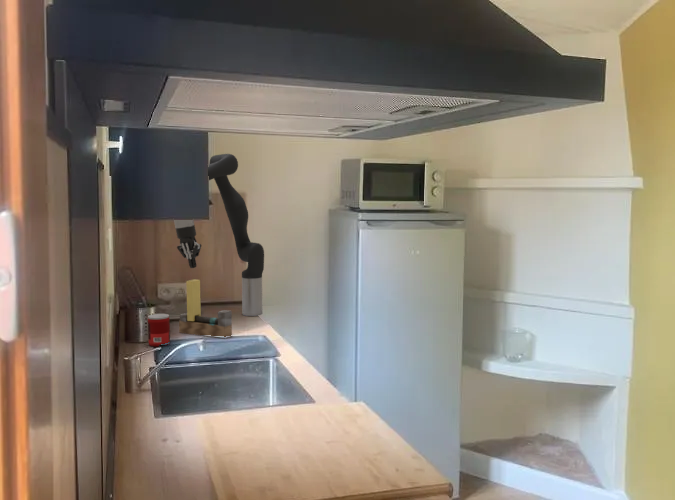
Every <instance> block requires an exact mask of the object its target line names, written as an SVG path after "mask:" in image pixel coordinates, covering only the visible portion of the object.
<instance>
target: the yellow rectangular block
mask: <svg viewBox="0 0 675 500" xmlns="http://www.w3.org/2000/svg"><path fill="white" fill-rule="evenodd" d="M201 309H202V307H201V279H195V278H194V279H190V280H186V313H187V321H195V316H202V314H201V313H202V310H201Z"/></svg>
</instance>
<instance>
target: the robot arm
mask: <svg viewBox="0 0 675 500" xmlns="http://www.w3.org/2000/svg"><path fill="white" fill-rule="evenodd" d="M209 159H210V160H209V163H208V164H209V167H208V176H209V181H211V180H213V179H214V182H215V185H216V186H217V188H218V191H219V194H220V196H221V199H222V202H223V207H224V209H225V213H226V215H227V219H228V221H229V224H230V228H231V231H232V234H233V237H234V242H235V248H236V251H237V252H236V253H237V255H238V258H239V260H241V261H243V262H245V263H247V268H246V269H244V270H242V271H241V300H242V301H241V306H242V307H241V309H242V312H241V315H243V316H247V317H257V316H261V315H263V273H264V268H265V267H264V266H265V250H264V247H263V245H262V244H261V243H258V242H252V241H251V240H250V237H249V234H248V222H249V211H248V207H247V204H246V201H245V199H244V198H243V196H242V195H241V194H240V193H239V192H238V191H237V190H236V188H234V187H233V186H232V184H231V182H230V180H229V177H228V176H231V175H234V174H235V173H236V172H237V170H238V167H239V161H238V159H237V157H236V156H235V155H234V154H231V153H221V154H215V155H212V156H211V157H210V158H209ZM173 223H174V227H175V233H176V236H177V237H176V238H177V239H178V240H179V245H177V246H176V249H177V250H178V251H179V252H180V255H182V257H183V258H184V259H186V260H187V262H188V266H189V268H190V269H196V268H197V260H196V258H197V257H199V255H200V251H201V249H202V244H201V243H198V242H197V239H196V236H197V231H196V226H195V221H194V219H193V220H174V219H173Z"/></svg>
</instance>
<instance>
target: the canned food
mask: <svg viewBox="0 0 675 500" xmlns="http://www.w3.org/2000/svg"><path fill="white" fill-rule="evenodd" d="M170 321H171V320H170V315H169V314H168V313H154V314H149V315H148V316H147V339H148V340H147V341H148V345H149V346H150V347H160V346H159V345H161V344H165V343H168V342H171V330H170V329H171V328H170V327H171V326H170V325H171V323H170Z"/></svg>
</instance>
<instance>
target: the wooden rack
mask: <svg viewBox="0 0 675 500" xmlns="http://www.w3.org/2000/svg"><path fill="white" fill-rule="evenodd" d="M232 316H233V314H232V310H229V309H224V310H223V309H222V310H220V311H218V312H217V317H210V316H202V315H201V316H195V321H187V312H184V313H181V314H179V321H178V331H179V333H180V334H187V335H188V334H189V335H194V334H195V336H201V335H211V336H224V337H226V336H231V335H232V336H233V325H232V324H233V320H232V319H233V318H232Z"/></svg>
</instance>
